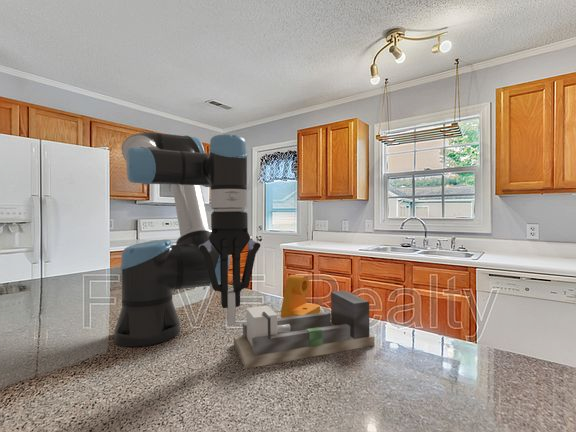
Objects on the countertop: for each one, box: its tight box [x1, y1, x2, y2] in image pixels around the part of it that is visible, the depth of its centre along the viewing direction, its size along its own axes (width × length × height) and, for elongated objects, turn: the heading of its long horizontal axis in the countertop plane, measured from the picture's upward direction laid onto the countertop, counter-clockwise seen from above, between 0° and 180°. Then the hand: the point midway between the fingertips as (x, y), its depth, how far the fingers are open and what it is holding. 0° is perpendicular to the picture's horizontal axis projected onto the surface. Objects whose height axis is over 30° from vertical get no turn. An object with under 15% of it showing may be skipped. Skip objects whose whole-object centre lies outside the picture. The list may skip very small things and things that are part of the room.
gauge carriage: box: [246, 305, 291, 346], centre depth 69 cm, size 9×10×7 cm
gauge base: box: [233, 290, 376, 370], centre depth 73 cm, size 30×12×10 cm, turn 110°
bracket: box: [280, 274, 321, 318], centre depth 92 cm, size 11×7×12 cm, turn 147°
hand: (230, 322), depth 67 cm, fingers closed
